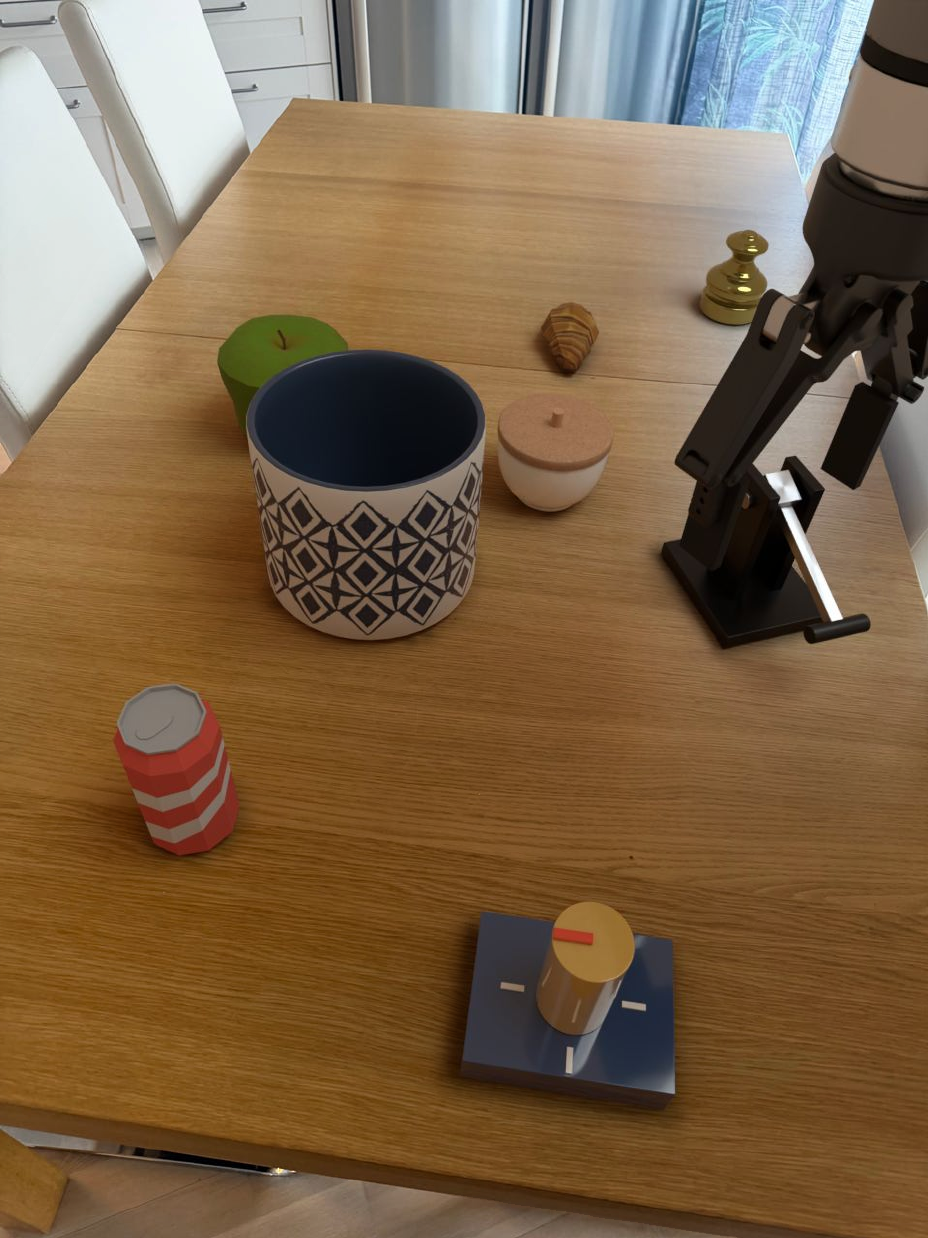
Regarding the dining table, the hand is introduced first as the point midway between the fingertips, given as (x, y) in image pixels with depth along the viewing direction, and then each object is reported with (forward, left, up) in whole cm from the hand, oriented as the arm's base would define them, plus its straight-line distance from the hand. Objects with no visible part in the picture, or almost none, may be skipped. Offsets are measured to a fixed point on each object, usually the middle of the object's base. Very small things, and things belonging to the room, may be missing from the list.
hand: (773, 515), depth 59 cm
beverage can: (+1, +39, -20) cm, 44 cm away
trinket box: (+28, +2, -20) cm, 35 cm away
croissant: (+52, -10, -20) cm, 57 cm away
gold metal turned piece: (+55, -33, -20) cm, 67 cm away
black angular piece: (+11, -10, -20) cm, 25 cm away
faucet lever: (+6, -10, -12) cm, 17 cm away
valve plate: (-19, +19, -20) cm, 34 cm away
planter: (+22, +21, -20) cm, 37 cm away
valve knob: (-19, +19, -17) cm, 32 cm away
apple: (+44, +24, -20) cm, 54 cm away
